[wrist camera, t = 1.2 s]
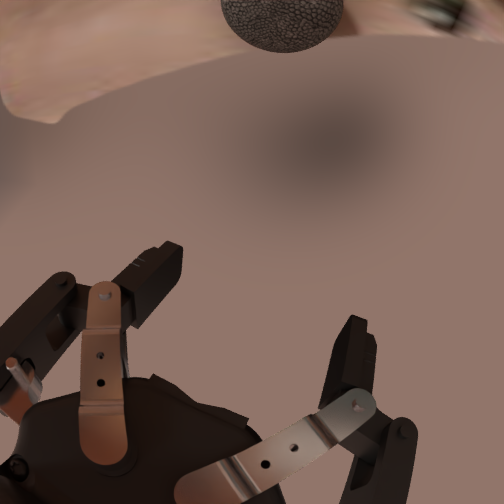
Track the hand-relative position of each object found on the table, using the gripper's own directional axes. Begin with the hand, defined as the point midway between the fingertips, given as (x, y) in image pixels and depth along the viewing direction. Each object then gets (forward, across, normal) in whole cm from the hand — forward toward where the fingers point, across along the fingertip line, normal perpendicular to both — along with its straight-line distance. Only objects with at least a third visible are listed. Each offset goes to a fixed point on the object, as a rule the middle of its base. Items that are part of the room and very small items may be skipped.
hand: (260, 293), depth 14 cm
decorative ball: (+22, +8, -16) cm, 28 cm away
